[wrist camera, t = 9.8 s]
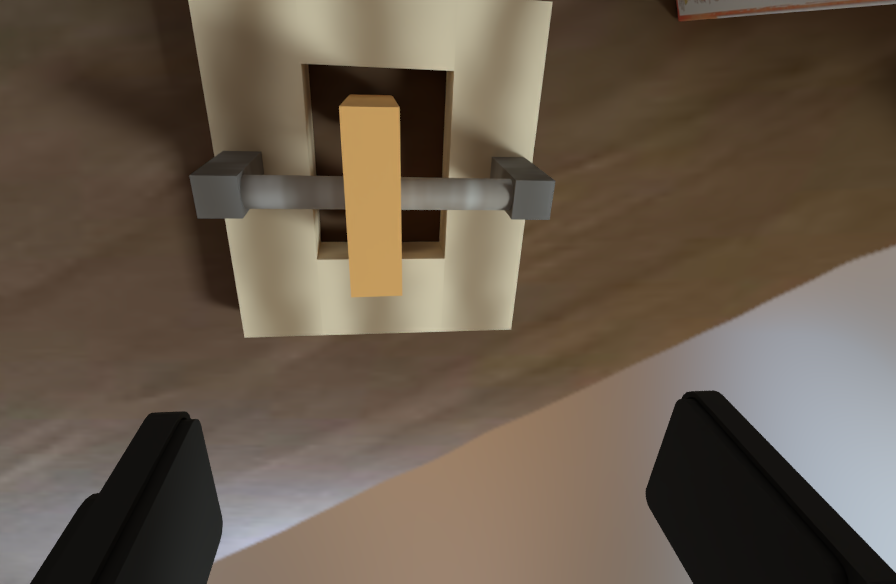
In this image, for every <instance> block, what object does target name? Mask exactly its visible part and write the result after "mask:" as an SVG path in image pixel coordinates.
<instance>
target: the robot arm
mask: <svg viewBox="0 0 896 584" xmlns="http://www.w3.org/2000/svg"><path fill="white" fill-rule="evenodd" d="M646 500H647V503H648V506H649V508H650V510H651V511H652V513H653V515H654V517H655V518H656V520H657V522H658V523H659V525H660V527H661V529H662V530H663V532H664V534H665V536H666V537H667V539H668V541H669V542H670V544H671V546H672V547H673V549H674V551H675V553H676V555H677V556H678V558H679V560H680V561H681V563H682V565H683V567H684V568H685V570H686V572H687V573H688V575H689V577H690V578H691V580H692V582H693V584H896V573H895V572H894V571H893V570H892V569H891V568H890V567H889V566H888V565H887V564H886V563H885V562H884V560H882V558H880V556H879V555H878V554H877V553H876V552H875V551H874V550H873V549H872V548H871V547H870V546H869V545H868V544H867V543H866V542H865V541H864V540H863V539H862V538H861V537H860V536H859V535H858V534H857V533H856V532H855V531H854V530H853V529H852V528H851V527H850V526H849V525H848V524H847V522H846V521H845V520H844V519H843V518H842V517H841V516H840V515H839V514H838V513H837V512H836V511H835V510H834V509H833V508H832V507H831V506H830V505H829V504H828V503H827V502H826V501H825V500H824V499H823V498H822V497H821V496H820V495H819V494H818V493H817V492H816V491H815V490H814V489H813V487H812V486H811V485H810V484H809V483H808V482H807V481H806V480H805V479H804V478H803V477H802V476H801V475H800V474H799V473H798V472H797V471H796V470H795V469H794V468H793V467H792V466H791V465H790V464H789V463H788V462H787V461H786V460H785V459H784V458H783V457H782V456H781V455H780V454H779V453H778V452H777V451H776V450H775V449H774V447H773V446H772V445H770V443H769V442H768V441H766V439H765V438H764V437H763V436H762V435H761V434H760V433H759V432H758V431H757V430H756V429H755V428H754V427H753V426H752V425H751V424H750V423H749V422H748V421H747V420H746V419H745V418H744V417H743V416H742V415H741V414H740V413H739V412H738V411H737V409H735V407H733V405H732V404H731V403H730V402H729V401H728V400H727V399H726V398H725V397H724V396H723V395H722V394H720V393H719V392H717V391H691V392H686V393H685V394H684V395H683V397H682V399H679V400H678V401H677V402H676V404H675V407H674V410H673V412H672V415H671V418H670V421H669V424H668V427H667V430H666V433H665V436H664V439H663V441H662V445H661V447H660V450H659V453H658V456H657V459H656V462H655V464H654V467H653V470H652V473H651V476H650V480H649V482H648V485H647V488H646ZM222 526H223V521H222V515H221V510H220V506H219V502H218V497H217V493H216V489H215V484H214V480H213V475H212V471H211V467H210V462H209V458H208V454H207V449H206V445H205V440H204V436H203V432H202V427H201V424H200V421H199V420H198V419H191V418H190V416H189V414H188V413H187V412H158V413H151V414H149V415H148V416H147V417H146V418H145V420H144V422H143V423H142V425H141V426H140V428H139V430H138V431H137V433H136V435H135V436H134V438H133V439H132V441H131V443H130V444H129V446H128V448H127V449H126V451H125V452H124V454H123V456H122V457H121V459H120V461H119V462H118V464H117V465H116V467H115V469H114V470H113V472H112V474H111V475H110V477H109V478H108V480H107V482H106V483H105V485H104V487H103V488H102V490H101V491H100V493H97V494H92V495H91V496H89V497H88V498H87V499H85V501H84V502H83V503H82V504H81V506H80V507H79V508H78V510H77V511H76V513H75V514H74V516H73V518H72V519H71V521H70V522H69V524H68V525H67V527H66V528H65V530H64V532H63V533H62V535H61V536H60V538H59V539H58V541H57V543H56V544H55V546H54V547H53V549H52V550H51V552H50V553H49V555H48V557H47V558H46V560H45V561H44V563H43V564H42V566H41V567H40V569H39V571H38V572H37V574H36V575H35V577H34V578H33V580H32V582H31V583H30V584H207V581H208V577H209V574H210V571H211V568H212V565H213V562H214V558H215V555H216V552H217V549H218V546H219V543H220V539H221V535H222Z"/></svg>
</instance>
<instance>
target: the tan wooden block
mask: <svg viewBox="0 0 896 584" xmlns="http://www.w3.org/2000/svg"><path fill="white" fill-rule="evenodd" d="M339 114H340V130H341V146H342V161H343V177H344V193H345V209H346V224H347V240H348V256H349V272H350V287H351V297H378V296H402V234H401V164H400V107H399V106H398V104H397V102H396V101H395V99H394V98H393V96H392V95H356V94H350V95H349V96H348V97H347V98H346V99H345V100H344V101H343V102H342V104H341V105H340V106H339Z"/></svg>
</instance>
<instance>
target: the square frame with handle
mask: <svg viewBox="0 0 896 584" xmlns="http://www.w3.org/2000/svg"><path fill="white" fill-rule="evenodd" d="M188 2H189V8H190V14H191V20H192V26H193V32H194V38H195V44H196V50H197V56H198V62H199V68H200V74H201V80H202V86H203V91H204V97H205V103H206V109H207V115H208V121H209V127H210V133H211V139H212V145H213V151H214V158H212V159H211V160H210V161H208V162H207V163H206V164H204V165H203V166H201V167H200V168H199V169H197V170H196V171H195V172H193V173H192V174H190V175H189V177H190V182H191V187H192V192H193V197H194V202H195V208H196V213H197V218H211V219H225V223H226V229H227V235H228V241H229V247H230V253H231V259H232V264H233V270H234V276H235V282H236V288H237V294H238V300H239V306H240V312H241V318H242V324H243V330H244V336H245V337H276V336H310V335H343V334H376V333H409V332H442V331H475V330H508V329H511V325H512V317H513V310H514V302H515V294H516V286H517V278H518V270H519V262H520V254H521V246H522V239H523V231H524V223H525V220H549V219H550V212H551V206H552V199H553V192H554V186H555V180H553V179H552V178H551V177H549V176H548V175H547V174H546V173H544V172H543V171H542V170H540V169H539V168H538V167H536V166H535V165H534V164H533V163H532V160H533V152H534V144H535V136H536V128H537V120H538V113H539V105H540V97H541V89H542V81H543V73H544V65H545V57H546V50H547V42H548V34H549V26H550V18H551V10H552V2H548V1H534V0H188ZM308 64H319V65H340V66H361V67H382V68H403V69H424V70H445V71H447V74H446V97H445V120H444V143H443V166H442V178H427V177H401V210H441V212H440V235H439V242H402V296H378V297H351V287H350V272H349V256H348V242H321V229H320V216H319V209H345V193H344V177H343V176H316V162H315V149H314V135H313V122H312V108H311V95H310V82H309V68H308Z"/></svg>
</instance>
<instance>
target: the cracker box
mask: <svg viewBox="0 0 896 584" xmlns="http://www.w3.org/2000/svg"><path fill="white" fill-rule="evenodd" d="M676 4H677V11H678V21H680V22H681V21H690V20H702V19H715V18H727V17H738V16H750V15H762V14H775V13H788V12H800V11H813V10H826V9H838V8H851V7H863V6H875V5H888V4H896V0H676Z"/></svg>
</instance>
